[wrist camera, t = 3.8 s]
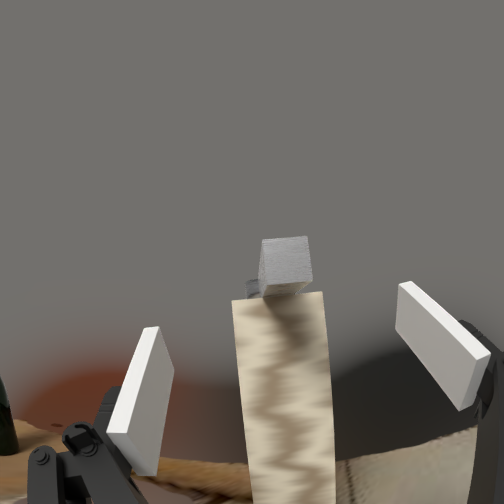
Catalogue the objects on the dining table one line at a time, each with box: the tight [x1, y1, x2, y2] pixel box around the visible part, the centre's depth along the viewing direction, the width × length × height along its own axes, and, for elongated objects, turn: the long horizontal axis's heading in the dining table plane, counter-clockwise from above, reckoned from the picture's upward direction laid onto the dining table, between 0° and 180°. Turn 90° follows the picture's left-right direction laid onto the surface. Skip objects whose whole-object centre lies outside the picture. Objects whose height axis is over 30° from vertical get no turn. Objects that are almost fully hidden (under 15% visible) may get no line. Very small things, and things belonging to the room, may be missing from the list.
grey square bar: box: [245, 236, 313, 299], centre depth 33 cm, size 6×25×5 cm, turn 0°
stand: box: [232, 292, 336, 504], centre depth 35 cm, size 9×16×34 cm, turn 0°
